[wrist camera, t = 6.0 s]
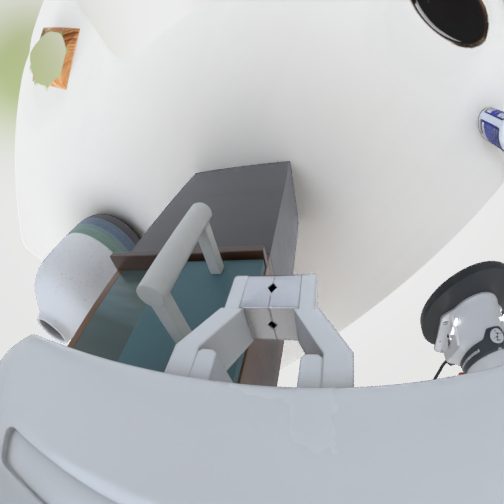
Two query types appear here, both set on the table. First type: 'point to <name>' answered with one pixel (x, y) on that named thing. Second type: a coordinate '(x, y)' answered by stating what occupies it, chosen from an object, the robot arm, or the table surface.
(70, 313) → the vase
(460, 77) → the table surface
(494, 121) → the pill bottle
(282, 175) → the cabinet
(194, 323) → the sliding door
